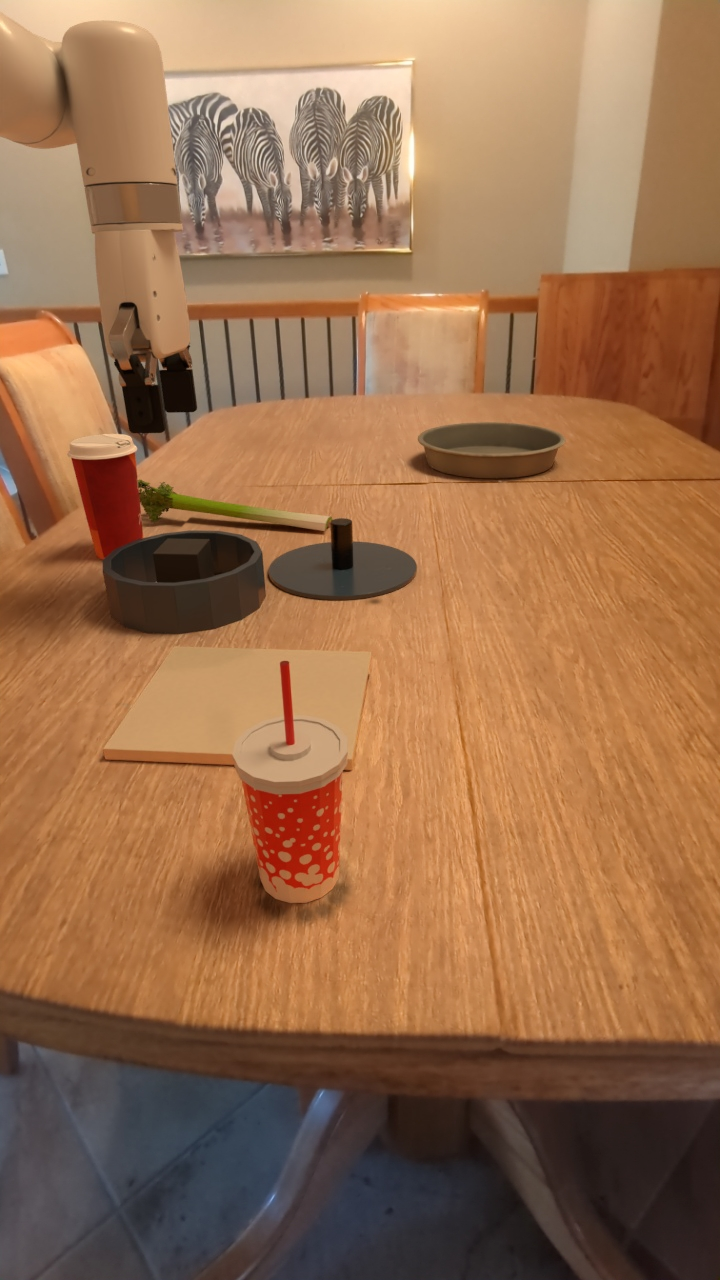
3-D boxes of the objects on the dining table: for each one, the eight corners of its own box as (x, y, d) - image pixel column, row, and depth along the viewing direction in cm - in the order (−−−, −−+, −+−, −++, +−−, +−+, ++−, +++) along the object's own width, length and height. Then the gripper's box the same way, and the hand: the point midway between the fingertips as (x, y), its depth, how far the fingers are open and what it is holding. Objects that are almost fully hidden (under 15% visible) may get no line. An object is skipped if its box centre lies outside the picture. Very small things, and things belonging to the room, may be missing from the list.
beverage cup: (341, 920, 41) (331, 699, 34) (233, 906, 42) (204, 689, 35) (360, 842, 46) (356, 639, 40) (264, 832, 47) (244, 632, 41)
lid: (254, 603, 78) (249, 546, 76) (284, 548, 93) (280, 498, 90) (414, 607, 77) (414, 549, 74) (419, 550, 92) (419, 500, 89)
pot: (86, 636, 72) (75, 583, 70) (143, 575, 86) (136, 529, 84) (245, 641, 71) (240, 587, 68) (278, 578, 85) (274, 531, 82)
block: (161, 609, 76) (152, 553, 74) (175, 591, 80) (167, 538, 78) (204, 610, 76) (197, 554, 73) (216, 592, 80) (209, 538, 77)
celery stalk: (320, 556, 95) (110, 521, 102) (336, 545, 102) (138, 512, 108) (323, 508, 93) (109, 475, 100) (340, 499, 100) (137, 469, 106)
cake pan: (387, 463, 130) (387, 436, 128) (480, 440, 145) (482, 416, 143) (499, 490, 114) (501, 461, 112) (592, 462, 128) (595, 435, 126)
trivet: (104, 760, 54) (102, 748, 54) (174, 655, 69) (173, 645, 68) (352, 770, 53) (352, 759, 52) (372, 661, 67) (372, 651, 66)
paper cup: (166, 549, 94) (149, 435, 87) (124, 570, 88) (103, 449, 81) (116, 541, 97) (97, 430, 90) (73, 561, 91) (49, 444, 84)
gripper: (129, 219, 71) (157, 405, 79) (45, 209, 56) (90, 442, 64) (206, 215, 70) (227, 404, 78) (143, 205, 55) (176, 441, 63)
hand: (165, 421), depth 71 cm, fingers open, 9 cm apart
